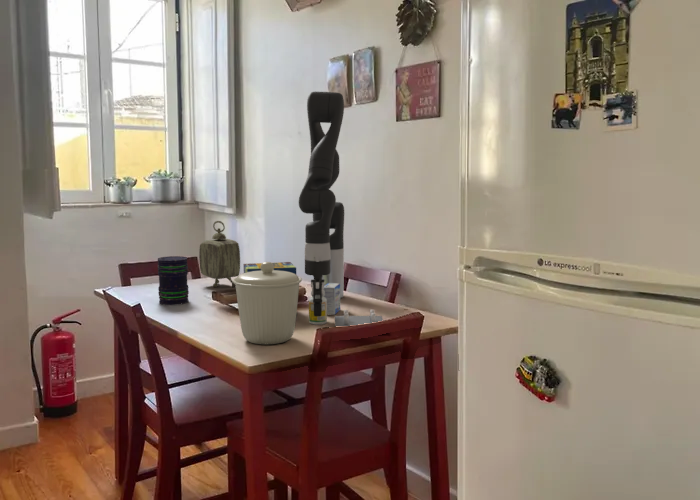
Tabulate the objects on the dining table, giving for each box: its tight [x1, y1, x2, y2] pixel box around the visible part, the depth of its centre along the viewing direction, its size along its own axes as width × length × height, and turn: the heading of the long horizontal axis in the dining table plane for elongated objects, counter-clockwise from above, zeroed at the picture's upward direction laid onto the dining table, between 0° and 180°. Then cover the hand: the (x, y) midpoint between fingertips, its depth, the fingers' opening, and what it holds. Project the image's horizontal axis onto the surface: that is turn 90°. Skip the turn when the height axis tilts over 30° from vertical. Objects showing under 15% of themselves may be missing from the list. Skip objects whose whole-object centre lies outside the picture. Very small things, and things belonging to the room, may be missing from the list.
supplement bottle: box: [308, 290, 328, 326], centre depth 199 cm, size 5×5×10 cm
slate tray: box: [334, 309, 384, 327], centre depth 193 cm, size 16×14×4 cm
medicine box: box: [324, 283, 341, 316], centre depth 213 cm, size 8×4×9 cm, turn 168°
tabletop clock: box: [198, 220, 241, 288], centre depth 255 cm, size 14×9×25 cm, turn 46°
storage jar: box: [157, 255, 190, 306], centre depth 227 cm, size 10×10×15 cm
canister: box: [232, 261, 303, 345], centre depth 179 cm, size 18×18×21 cm
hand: (317, 312), depth 199 cm, fingers open, 7 cm apart
